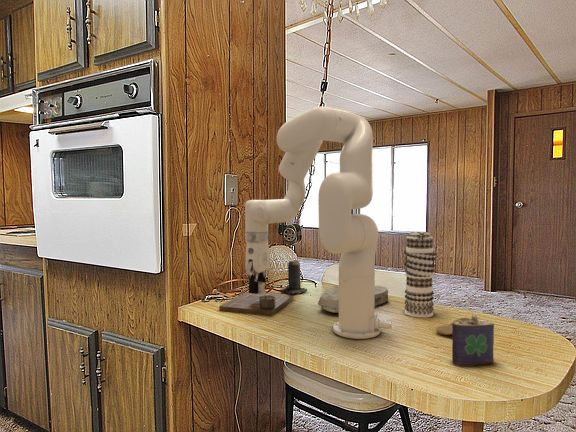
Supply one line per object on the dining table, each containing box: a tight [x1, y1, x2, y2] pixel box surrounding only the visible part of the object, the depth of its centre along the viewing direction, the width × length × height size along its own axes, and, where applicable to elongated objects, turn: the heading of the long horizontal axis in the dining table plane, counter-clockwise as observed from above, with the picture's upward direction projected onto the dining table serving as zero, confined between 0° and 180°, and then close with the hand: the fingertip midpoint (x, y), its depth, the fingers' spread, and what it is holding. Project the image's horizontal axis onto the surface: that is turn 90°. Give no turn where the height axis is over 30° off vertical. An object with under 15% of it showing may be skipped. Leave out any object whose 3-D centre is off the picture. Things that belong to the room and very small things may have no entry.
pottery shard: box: [435, 317, 471, 336], centre depth 109 cm, size 11×4×10 cm
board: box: [218, 290, 294, 317], centre depth 138 cm, size 18×20×2 cm
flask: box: [451, 314, 495, 367], centre depth 90 cm, size 9×3×11 cm, turn 95°
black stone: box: [259, 295, 275, 309], centre depth 130 cm, size 5×5×3 cm
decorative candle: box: [403, 231, 437, 319], centre depth 126 cm, size 9×9×25 cm
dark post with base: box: [279, 259, 308, 296], centre depth 154 cm, size 9×8×12 cm
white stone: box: [258, 281, 266, 294], centre depth 138 cm, size 5×5×3 cm
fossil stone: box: [317, 285, 389, 314], centre depth 136 cm, size 28×15×5 cm, turn 131°
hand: (257, 290), depth 138 cm, fingers closed on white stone, 5 cm apart
